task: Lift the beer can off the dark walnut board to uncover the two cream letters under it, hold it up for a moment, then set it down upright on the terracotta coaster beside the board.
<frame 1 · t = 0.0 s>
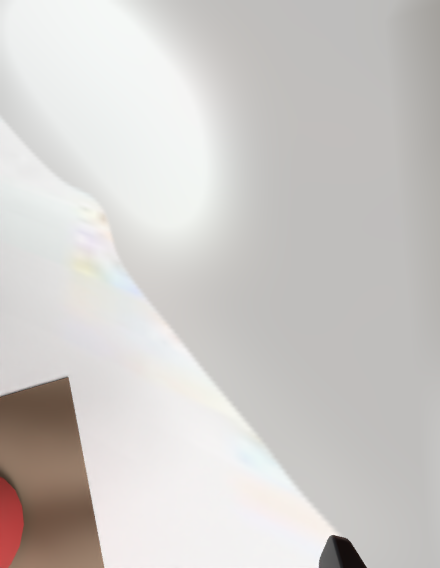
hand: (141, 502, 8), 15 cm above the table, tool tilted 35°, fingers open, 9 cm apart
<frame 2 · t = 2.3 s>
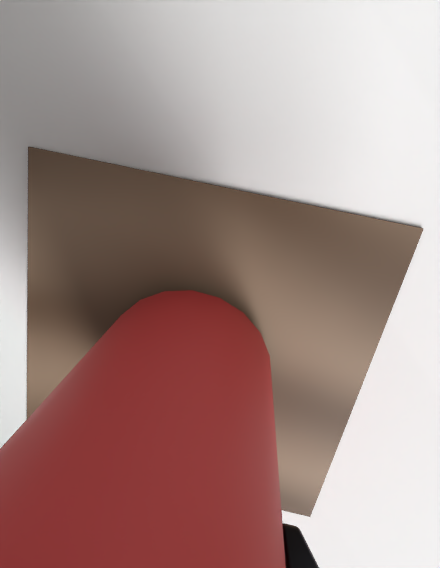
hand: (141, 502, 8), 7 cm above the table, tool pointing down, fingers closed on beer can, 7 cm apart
code board: (190, 358, 14), on the table
beer can: (190, 357, 14), resting on code board, touching gripper
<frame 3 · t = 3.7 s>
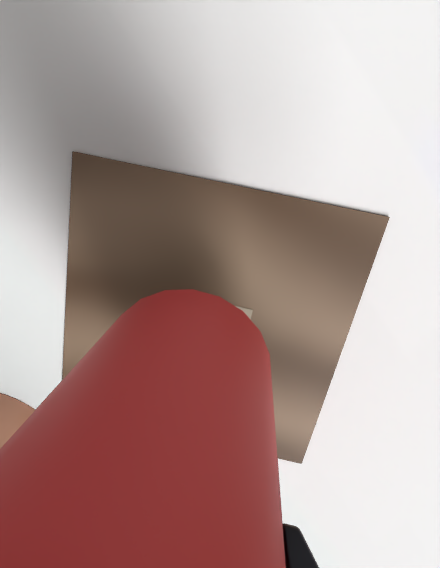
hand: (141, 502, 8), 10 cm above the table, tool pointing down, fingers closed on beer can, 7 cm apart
code board: (201, 326, 17), on the table
beer can: (191, 355, 15), point 3 cm above the table, touching gripper
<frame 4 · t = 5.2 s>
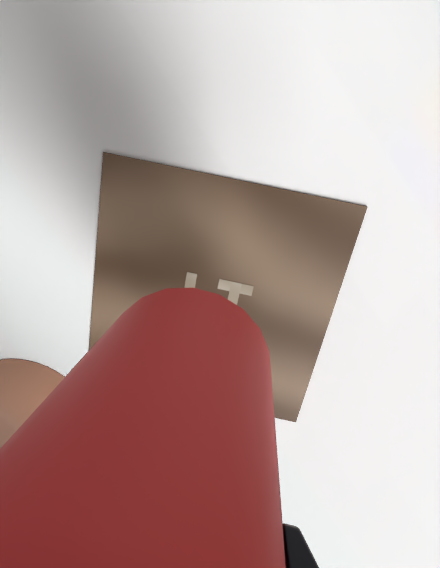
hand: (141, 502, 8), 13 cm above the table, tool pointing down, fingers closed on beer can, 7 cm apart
code board: (209, 301, 20), on the table
coaster: (29, 420, 25), on the table
beer can: (191, 353, 15), point 6 cm above the table, touching gripper
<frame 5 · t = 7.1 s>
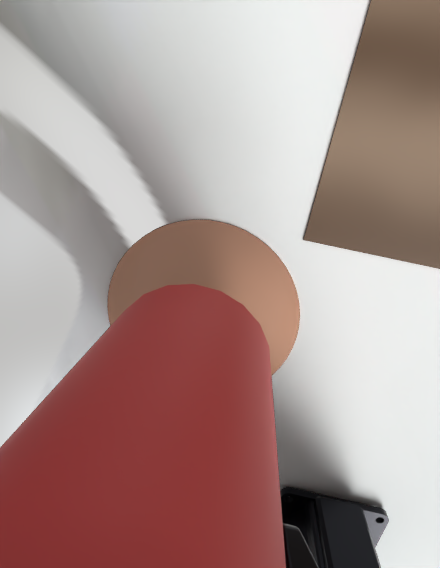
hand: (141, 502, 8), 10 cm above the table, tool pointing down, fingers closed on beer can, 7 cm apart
coaster: (201, 316, 18), on the table
beer can: (193, 349, 15), point 3 cm above the table, touching gripper
when the fingers open (8 cm above the table, at t = 8.4 s): beer can stays where it is, resting on coaster.
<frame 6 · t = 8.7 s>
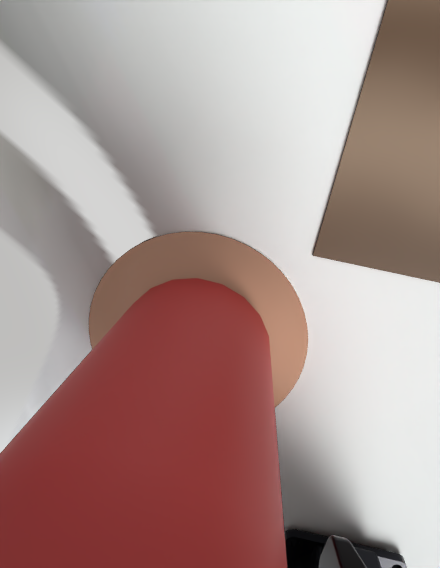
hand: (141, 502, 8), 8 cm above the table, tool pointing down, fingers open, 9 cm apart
coaster: (195, 341, 16), on the table
beer can: (197, 340, 16), resting on coaster
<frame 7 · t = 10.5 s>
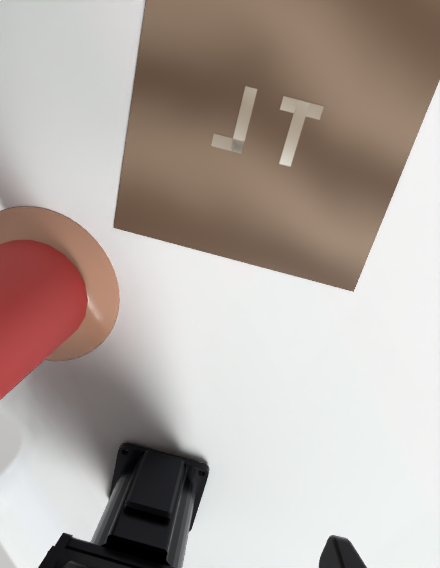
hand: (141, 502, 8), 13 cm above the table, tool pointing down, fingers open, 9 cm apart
code board: (268, 127, 17), on the table
coaster: (40, 289, 21), on the table
beer can: (42, 288, 22), resting on coaster
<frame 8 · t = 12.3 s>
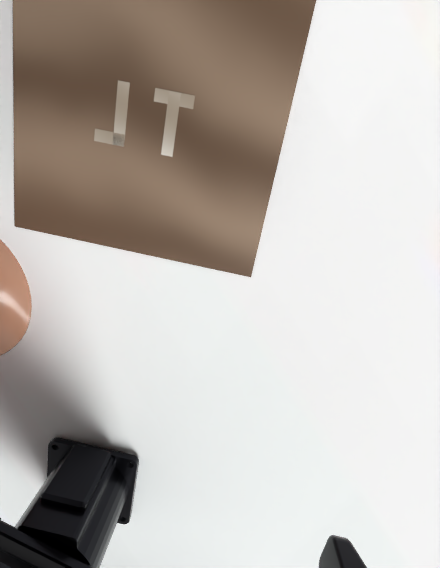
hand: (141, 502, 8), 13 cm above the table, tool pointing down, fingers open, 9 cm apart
code board: (146, 119, 18), on the table
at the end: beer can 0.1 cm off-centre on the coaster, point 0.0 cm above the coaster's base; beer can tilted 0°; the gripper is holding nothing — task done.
